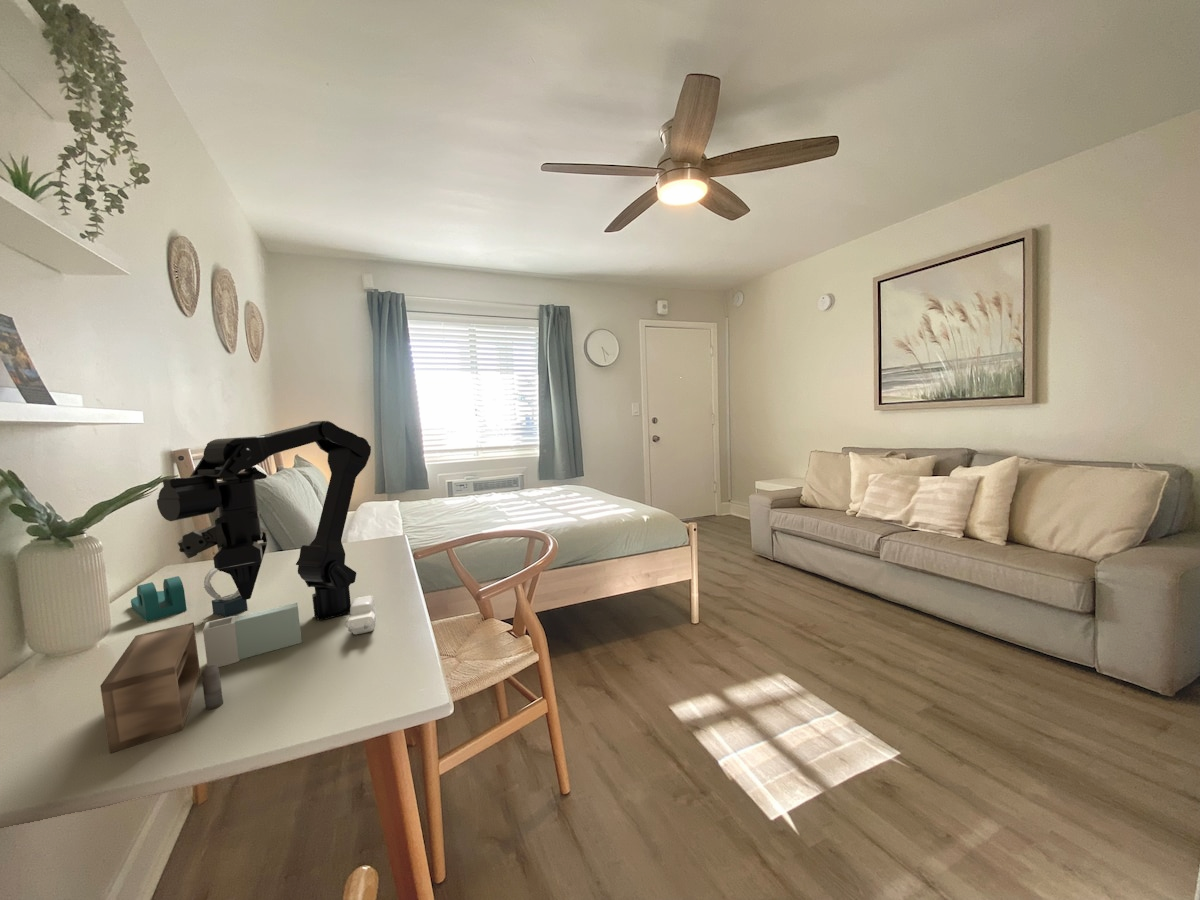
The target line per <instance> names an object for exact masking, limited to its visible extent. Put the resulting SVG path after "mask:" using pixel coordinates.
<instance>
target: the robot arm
mask: <svg viewBox="0 0 1200 900" xmlns="http://www.w3.org/2000/svg"><path fill="white" fill-rule="evenodd" d="M313 443H315V444H316V445H317V446H318V448H319V449H320V450H321V451H323V452H325V453H327V465H328V467H329V471H330V478H329V481H328V487H327V490H326V495H325V498H324V503H323V506H322V509H321V514H320V517H319V523H318V526H317V530H316V535H315V537H314V539H313V541H311V542H310V544H309V545H306V544H305V545H301V547H300V549H299V550H300V551H299V557H298V559H297V561H296V563H295V565H296V566H297V574H298V575H299V576H300V578H301V579H302V580H303V581H304V582H305V584H306V585H307V587H308V588H313V587H314V593H312V594H311V597H312V605H313V614H314V616H315V617H317V621H323V620H327V619H332V618H334V617H339V616H342V615H346V614H350V607H351V604H352V601H351V592H350V585H352V584H354V583H355V582H356V577H357V572H356V571H355V570H353V569H352V568H350V567H349V566H348V565H346V562H345V561H346V552H345V549H344V546H343V542H342V539H343V534H344V531H345V530H344V529H345V525H346V521H347V516H348V513H349V508H350V505H351V500H352V496H353V492H354V488H355V483H356V479H357V476H359V474H360V473H362V471H363V470H364V469H365V467H366V466H367V464H368V461H369V458H370V457H371V454H372V453H371V451H372V448H371V447H372V446H371V445H370V444H369V442H368V441H367V439H365V438H364V437H361V436H359V435H357V434H356V433H354V432H352V431H349V430H346V429H344V428H341V427H339V426H338V425H336V424H335V423H334V422H332V421H329V420H316V421H310V422H308V423H307V424H305V423H304V424H302V425H299V426H298V425H297V426H293V427H290V428H286V429H282V430H277V431H273V432H270V433H266V434H265V433H264V434H261V435H257V436H244V437H243V436H241V437H228V438H218V439H217V438H215V439H212V440H210V441H209V442H207V443H206V446H205V448H204V450H203V456H202V458H201V460H200V461H199V462H198V464H197V465H196V467H195V468H194V470H193V472H192V473H191V475H190V476H188V477H171V478H170V477H169V478H165V479H164V478H163V480H162V483H163V484H162V485H163V487H162V488H160V491H159V492H158V499H156V505H157V508H158V511H159V513H160V515H161V517H162V518H163V519H164V520H166V521H168V522H174V521H179V520H184V519H190V518H194V517H198V516H204V515H209V514H213V513H214V512H216V510H217V514H218V516H217V517H216V518H215V519H214V524H212V525H210V526H207V527H205V528H203V529H201V530H196V529H195V530H192V531H190V532H188V533H184V534H183V535H182V539H180V540H179V541H178V542H177V545H178V547H179V552H180V553H183V554H184V555H185V557H186V558H187V559H191V558H193V557H196V556H197V555H198V554H200V553H202V552H204V551H205V550H206V551H207V550H208V549H210V548H213V547H215V546H216V545H217V548H219V550H218V551H216V553H215V555H214V556H213V565H214V566H213V567H215V569H218V571H219V572H224V573H226V574H228V575H230V576H231V578H232V581H233V582H234V585H235V586H236V589H237V590H238V591H239V593H240V595H241V597H242V599H243V600H250V599H251V598H252V595H253V593H254V589H255V585H256V582H257V578H258V575H259V571H260V569H261V565H262V562H263V559H264V555H265V553H266V549H267V545H268V539H269V536H268V529H265V528H263V527H262V526H261V520H260V515H261V510H260V508H259V504H258V496H257V490H256V488H257V487H256V482H255V481H256V480H257V481H259V480H263V479H266V478H268V476H267V474H266V473H264V472H262V471H260V470H258V468H257V467H255V466H256V465H259V464H261V463H263V462H265V461H266V460H267V459H268V458H270V457H271V456H273V455H276V454H279V453H282V452H286V451H289V450H292V449H295V448H298V447H302V446H306V445H309V444H313ZM259 541H262V542H259Z"/></svg>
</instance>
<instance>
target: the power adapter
mask: <svg viewBox="0 0 1200 900" xmlns="http://www.w3.org/2000/svg"><path fill="white" fill-rule="evenodd" d="M375 608H376V607H375V599H374V596H373V595H365V596H358V597H355V598H353V599H352V601H351V607H350V613H349V617H348V618H347V619H346V621H345V622H346V623H345V627H346V628H347V629H348V630H347V631H348V632H349V633H351V632H352V635H360V634H367V633H369V632H372V631H374V629H375V624H376V609H375Z"/></svg>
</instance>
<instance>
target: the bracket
mask: <svg viewBox="0 0 1200 900" xmlns="http://www.w3.org/2000/svg"><path fill="white" fill-rule="evenodd" d="M162 586H163V590H158V591H157V589H156V585H155V584H154V582H148V583H143V584H140V585H137V587H136V596H135V597H133V598H131V599H130V605H131V610H132V609H133V610H132V611H134V612H135V613H136V615H138V616H139V617H140V618H141V619H143V620H144V621H145V623H149V622H153V621H156V620H159V619H162V618H163V619H164V618H166V617H170V616H173V615H174V616H175V615H177V614H180V613H184V612H187V611H188V610H187V602H186V601H187V600H186V594H185V588H184V584H183V581H182V579H181V578H180V576H173V577H169V578H165V579H163V585H162Z"/></svg>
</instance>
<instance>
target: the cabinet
mask: <svg viewBox="0 0 1200 900" xmlns="http://www.w3.org/2000/svg"><path fill="white" fill-rule="evenodd" d="M196 637H197V636H196V630H195V622H190V623H186V624H180V625H177V626H176V625H175V626H172V627H167V628H163V629H160V630H155V631H150V632H145V633H142V634H137V635H135V636H134V638H133V639H132V640H131V642H130V643H129V645H128V646H127V647H126V649H125V651H123V653H122V655H121V656H120V658H118V660H117V662H116V663H115V664H114V665H113V667H112V669H111V670H110V672H109V673H108V674H107V676H106V677H105V679H103V681H102V683H101V684H100V693H101V700H102V706H103V707H102V708H103V713H104V721H105V727H106V728H105V729H106V734H107V735H106V736H107V741H108V748H109V753H110V754H112V753H115V752H118V751H122V750H124V749H128V748H131V747H134V746H137V745H140V744H143V743H146V742H149V741H153V740H155V739H158V738H162V737H164V736H167V735H171V734H173V733H177V732H180V731H183V729H184V727H185V723H186V720H187V717H188V714H189V711H190V707H191V704H192V701H193V699H194V695H195V692H196V689H197V687H198V683H199V679H200V676H201V683H202V691H203V699H204V706H205V710H206V711H207V710H208V711H210V710H213V709H217V708H219V707H221V706H222V705H223V704H224V698H223V691H222V682H221V675H220V674H221V673H220V669H219V668H220V667H217V666H214V665H212V666H208V667H205V668H203V670H202V672H201V669H200V662H199V654H198V645H197V638H196Z"/></svg>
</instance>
